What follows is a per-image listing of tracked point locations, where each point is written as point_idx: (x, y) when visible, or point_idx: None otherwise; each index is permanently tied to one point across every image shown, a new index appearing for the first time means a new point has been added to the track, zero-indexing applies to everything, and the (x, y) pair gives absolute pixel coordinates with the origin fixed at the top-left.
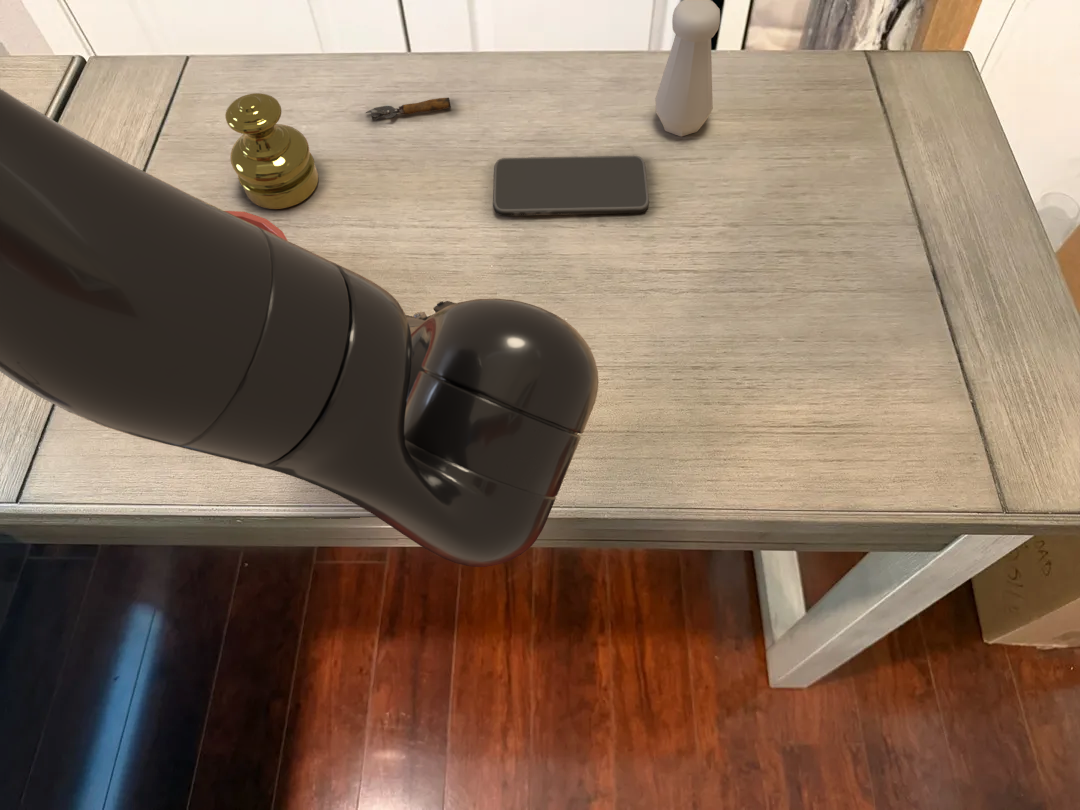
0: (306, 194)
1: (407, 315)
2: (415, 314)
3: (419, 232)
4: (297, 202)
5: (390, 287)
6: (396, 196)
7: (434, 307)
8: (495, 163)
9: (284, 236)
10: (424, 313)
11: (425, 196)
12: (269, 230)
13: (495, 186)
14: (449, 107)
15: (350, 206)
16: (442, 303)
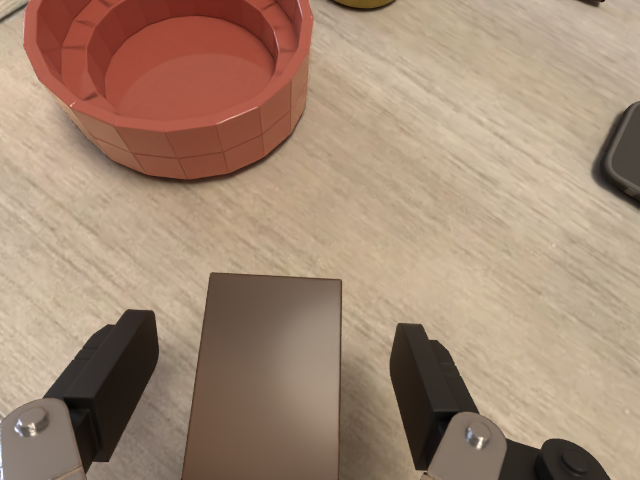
0: (376, 2)
1: (431, 347)
2: (477, 435)
3: (481, 134)
4: (360, 5)
5: (402, 186)
6: (478, 69)
7: (546, 455)
8: (634, 103)
9: (311, 27)
10: (505, 452)
11: (514, 91)
12: (297, 7)
13: (621, 135)
14: (601, 1)
15: (416, 48)
16: (585, 471)
